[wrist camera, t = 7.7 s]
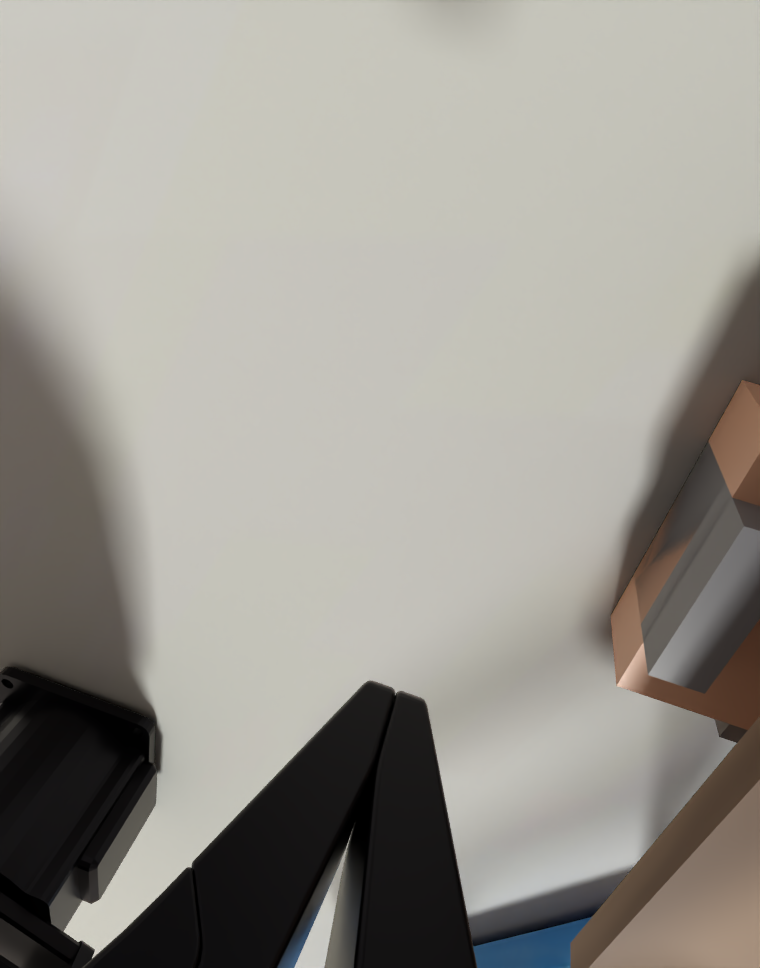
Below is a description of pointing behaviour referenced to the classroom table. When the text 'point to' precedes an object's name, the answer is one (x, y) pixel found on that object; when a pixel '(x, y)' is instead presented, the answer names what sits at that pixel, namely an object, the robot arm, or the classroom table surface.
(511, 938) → the file sorter
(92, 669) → the classroom table surface
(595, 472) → the classroom table surface
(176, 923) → the robot arm
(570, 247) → the classroom table surface
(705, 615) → the pink slab with nub
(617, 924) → the low shelf
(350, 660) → the classroom table surface
